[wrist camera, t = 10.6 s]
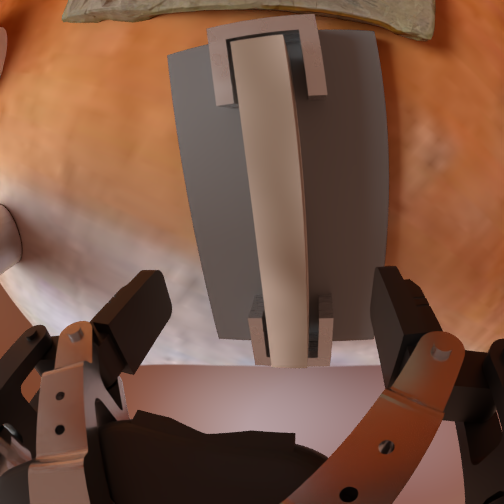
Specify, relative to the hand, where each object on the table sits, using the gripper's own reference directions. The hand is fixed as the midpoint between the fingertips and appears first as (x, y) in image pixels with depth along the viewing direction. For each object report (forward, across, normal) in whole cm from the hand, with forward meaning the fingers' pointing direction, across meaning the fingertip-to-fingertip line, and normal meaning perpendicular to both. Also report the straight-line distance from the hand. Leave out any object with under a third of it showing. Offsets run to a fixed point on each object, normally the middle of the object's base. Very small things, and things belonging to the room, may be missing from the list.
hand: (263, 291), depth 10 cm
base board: (+11, 0, 0) cm, 11 cm away
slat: (+10, 0, 0) cm, 10 cm away
